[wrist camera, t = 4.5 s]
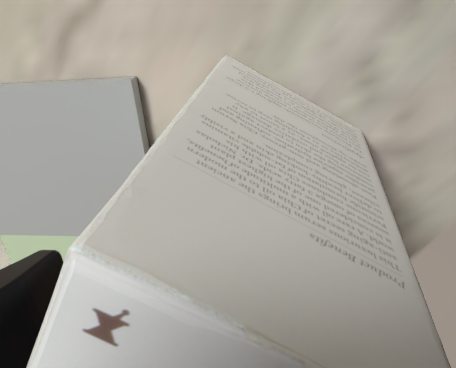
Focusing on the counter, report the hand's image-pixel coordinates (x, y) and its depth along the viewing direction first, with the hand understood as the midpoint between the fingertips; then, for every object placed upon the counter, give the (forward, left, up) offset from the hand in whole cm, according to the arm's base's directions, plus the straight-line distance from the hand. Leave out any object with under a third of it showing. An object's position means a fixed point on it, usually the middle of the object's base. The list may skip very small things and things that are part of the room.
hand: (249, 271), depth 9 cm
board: (+9, +4, -8) cm, 13 cm away
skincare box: (0, 0, -8) cm, 8 cm away
